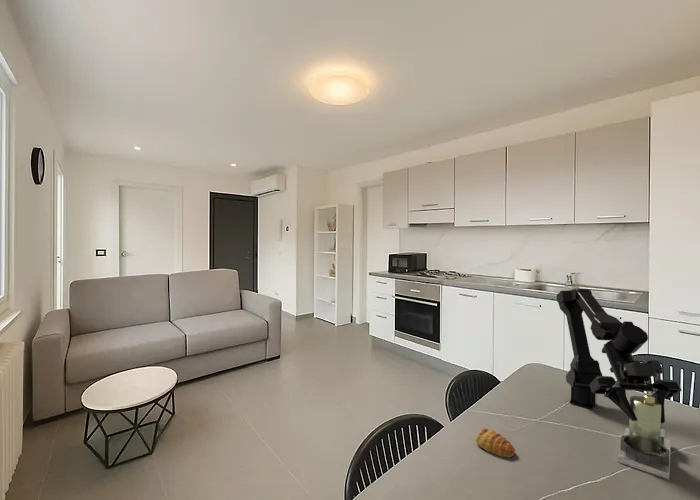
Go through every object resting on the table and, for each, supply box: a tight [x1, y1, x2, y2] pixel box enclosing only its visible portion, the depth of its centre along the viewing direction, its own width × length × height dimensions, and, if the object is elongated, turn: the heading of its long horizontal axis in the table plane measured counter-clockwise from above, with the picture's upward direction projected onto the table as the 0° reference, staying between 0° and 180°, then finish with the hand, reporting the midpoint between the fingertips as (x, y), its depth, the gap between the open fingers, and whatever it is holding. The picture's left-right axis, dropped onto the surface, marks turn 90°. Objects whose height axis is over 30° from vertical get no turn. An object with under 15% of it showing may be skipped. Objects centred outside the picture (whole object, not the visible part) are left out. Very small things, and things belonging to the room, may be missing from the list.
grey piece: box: [617, 427, 672, 481], centre depth 89 cm, size 9×18×4 cm, turn 136°
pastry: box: [475, 427, 516, 459], centre depth 92 cm, size 9×7×4 cm
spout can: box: [628, 393, 662, 452], centre depth 86 cm, size 6×6×13 cm
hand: (648, 421), depth 85 cm, fingers closed on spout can, 6 cm apart
